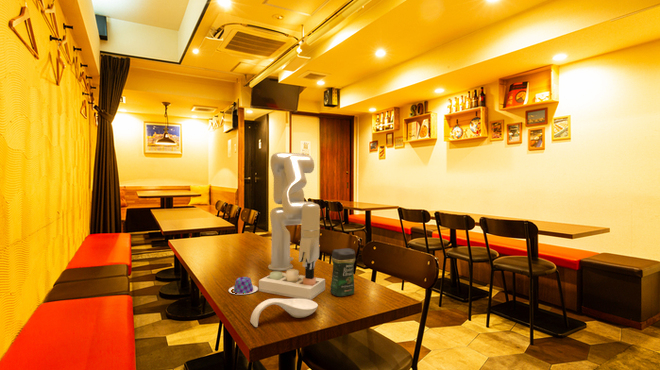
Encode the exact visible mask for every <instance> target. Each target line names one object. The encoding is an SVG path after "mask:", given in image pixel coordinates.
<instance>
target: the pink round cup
mask: <svg viewBox="0 0 660 370" xmlns="http://www.w3.org/2000/svg"><path fill="white" fill-rule="evenodd" d="M316 278H317V277H316V276H314V278H313V279H308V278H305V277H303V284H304V285H311V286H313V285H315V284H316Z"/></svg>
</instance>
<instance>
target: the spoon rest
mask: <svg viewBox="0 0 660 370" xmlns="http://www.w3.org/2000/svg"><path fill="white" fill-rule="evenodd" d="M272 305H276V306H279V307H281V309H283V310H284V311H285V312H287V314H289V315H290V316H291V317H293V318H299V319H300V318H306V317H308V316H311V315H312V314H314V313H315V311H316V310H317V309H318V307H319V305H318V303H317V302H316V301H313V299H312V300H308V299H299V298H277V297H276V298H268V299H266V300H264V301H262V302H260V303H259V304H258V305H257V306H255V308H254V310H253V311H252V313H251V316H250V323H251V324H252V326H253V327H254V328H258V327H259V326H258V325H259V318H260V315H261V313H262V311H264V310H265V309H266V308H268V307H270V306H272Z"/></svg>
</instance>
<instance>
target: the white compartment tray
mask: <svg viewBox="0 0 660 370" xmlns="http://www.w3.org/2000/svg"><path fill="white" fill-rule="evenodd" d="M303 277H305V275H302V274H299V281H298V282H296V283H292V282H286V272H282V279H280V280H274V279H270V274H269V275H267V276H265V277H263V278H261V279H259V280H258V292H262V293H268V294H274V295H277V296H285V297H290V298H293V299H308V300H312V301H313V299H314V298H315V297H317V296H318V295H319V294H321V293H322V292H324V291H325V290H326V279H325V278H320V277H315V278H316V284H315V285H313V286H311V285H304V284H303Z"/></svg>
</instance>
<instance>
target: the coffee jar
mask: <svg viewBox="0 0 660 370" xmlns="http://www.w3.org/2000/svg"><path fill="white" fill-rule="evenodd" d="M331 254H332V255H331V261H332V273H331V274H332V275H331V281H330V282H331V283H330V293H331V294H332V295H334V296H337V297H345V296H351V295H354V294H355V277H354V275H355V274H354V273H355V272H354V269H355V268H354V265H355V262H356V252H355V250H354V249H352V248H349V247H348V248H339V249H333V250H332V252H331Z"/></svg>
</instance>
